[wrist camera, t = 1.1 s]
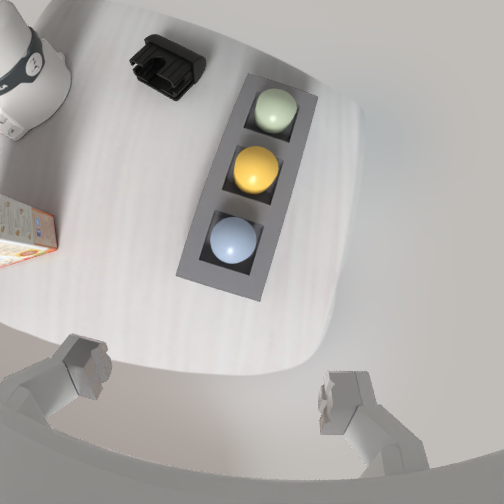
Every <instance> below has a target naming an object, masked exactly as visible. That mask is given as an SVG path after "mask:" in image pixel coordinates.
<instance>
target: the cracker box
mask: <svg viewBox="0 0 504 504" xmlns="http://www.w3.org/2000/svg"><path fill="white" fill-rule="evenodd" d="M56 250H57V242H56V234H55V225H54V216H53V215H51V214H48V213H46V212H43V211H41V210H38V209H36V208H33V207H31V206H28V205H26V204H24V203H21V202H19V201H16V200H14V199H11V198H9V197H6V196H4V195H2V194H0V268H1V267H4V266H8V265H11V264H14V263H17V262H20V261H23V260H27V259H30V258H33V257H36V256H40V255H43V254H46V253H49V252H53V251H56Z"/></svg>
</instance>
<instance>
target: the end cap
mask: <svg viewBox="0 0 504 504" xmlns="http://www.w3.org/2000/svg"><path fill="white" fill-rule="evenodd" d="M144 40H145V44H146V45H145V46H144V47H143V48H142V49H141V50H140V51H138V52H137V53H136V54H135V55H134V56H133V57H132V58H131V59H130V63H131V65H132V66H133V65H134V64H135V63H136V64H138V65H137V66H136V67H135V68H134V69H133V72H134V74H135V75H136V76H137V79H138V80H139V81H141V82H142V83H144V84H146V85H148V86H150V87H151V88H153V89H155V90H157V91H158V92H160V93H162V94H164V95H165V96H167V97H169V98H170V99H172V100H174V101H178V100H179V99H180V98H181V97H182V96H183V95H184V94H185V93H186V92H187V91H188V90H189V89H190V88H191V87H192V86H193V84H196V82H197V81H198V80H199V79H200V77H201V76H202V74H203V72H204V70H205V67H206V59H205V58H204V57H203V56H201V55H199V54H197V53H195V52H193V51H191V50H189V49H187V48H185V47H183V46H181V45H179V44H177V43H174V42H172V41H170V40H168V39H166V38H164V37H162V36H159V35H157V34H153V35H150V36H148V37H146V38H145V39H144Z"/></svg>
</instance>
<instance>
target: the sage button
mask: <svg viewBox="0 0 504 504" xmlns="http://www.w3.org/2000/svg"><path fill="white" fill-rule="evenodd" d="M296 110H297V105H296V102H295V100H294V98H293V97H292V96H291V95H290V94H289V93H288V92H286V91H284V90H281V89H268V90H266V91H264V92H262V93H261V94H260V96H259V97H258V100H257V104H256V107H255V111H254V121H255V124H256V125H257V127H258V128H259V129H261V130H262V131H264V132H266V133H269V134H278V133H281V132H283V131H285V130H286V129H287V128H288V126H289V125H290V123H291V121H292V119H293V117H294V115H295V113H296Z"/></svg>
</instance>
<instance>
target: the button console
mask: <svg viewBox="0 0 504 504" xmlns="http://www.w3.org/2000/svg"><path fill="white" fill-rule="evenodd" d="M268 89H281V90H284V91H286V92H288V93H289V94H290V95H291V96H292V97H293V98H294V100H295V102H296V105H297V110H296V113H295V115H294V117H293V119H292V121H291V123H290V125H289V126H288V128H287V129H286V130H285V131H283V132H281V133H278V134H269V133H266V132H264V131H262V130H261V129H259V128H258V127H257V125H256V124H255V121H254V111H255V107H256V104H257V100H258V97H259V96H260V94H261V93H262V92H264V91H266V90H268ZM317 100H318V97H317V96H315V95H312V94H310V93H307V92H304V91H301V90H298V89H296V88H293V87H290V86H287V85H284V84H281V83H278V82H275V81H272V80H269V79H265V78H262V77H259V76H256V75H252V74H249V73H248V75H247V77H246V79H245V82H244V84H243V87H242V89H241V92H240V94H239V96H238V99H237V101H236V104H235V106H234V109H233V111H232V114H231V117H230V119H229V122H228V124H227V127H226V129H225V132H224V135H223V137H222V140H221V143H220V145H219V148H218V151H217V153H216V156H215V159H214V161H213V164H212V167H211V170H210V172H209V175H208V178H207V181H206V184H205V187H204V189H203V192H202V195H201V198H200V201H199V204H198V207H197V210H196V213H195V216H194V219H193V222H192V225H191V228H190V231H189V234H188V237H187V240H186V243H185V246H184V250H183V253H182V256H181V259H180V262H179V266H178V269H177V272H176V276H178V277H181V278H184V279H187V280H190V281H193V282H197V283H200V284H203V285H206V286H209V287H213V288H216V289H219V290H222V291H226V292H229V293H232V294H236V295H239V296H242V297H246V298H249V299H252V300H256V301H259V302H260V300H261V296H262V293H263V290H264V286H265V283H266V280H267V276H268V273H269V270H270V266H271V263H272V259H273V256H274V253H275V249H276V246H277V243H278V239H279V236H280V232H281V229H282V225H283V222H284V218H285V215H286V212H287V208H288V205H289V201H290V198H291V194H292V191H293V187H294V183H295V180H296V176H297V173H298V169H299V166H300V162H301V159H302V155H303V151H304V148H305V144H306V140H307V137H308V133H309V129H310V126H311V122H312V118H313V115H314V111H315V107H316V103H317ZM252 146H259V147H263V148H266V149H268V150H269V151H270V152H272V153H273V155H274V156H275V157H276V159H277V162H278V173H277V176H276V178H275V179H274V181H273V182H272V184H271V185H270V187H269V188H268V189H267V190H266V191H265V192H263V193H261V194H257V195H250V194H246V193H244V192H242V191H241V190H240V189H239V188H238V187H237V186H236V184H235V182H234V179H233V171H234V166H235V161H236V158H237V156H238V155H239V153H240V152H241V151H243V150H244V149H246V148H248V147H252ZM228 217H238V218H241V219H244V220H246V221H247V222H248V223H249V224H250V225H251V226H252V227H253V229H254V231H255V234H256V246H255V249H254V251H253V253H252V254H251V255H250V256H249V257H248V258H247V259H245V260H243V261H241V262H239V263H235V264H228V263H225V262H222V261H220V260H219V259H218V258H217V257H216V256H215V255H214V253H213V251H212V248H211V242H210V238H211V233H212V230H213V228H214V227H215V225H216V224H217V223H218V222H220V221H221V220H223V219H225V218H228Z"/></svg>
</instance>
